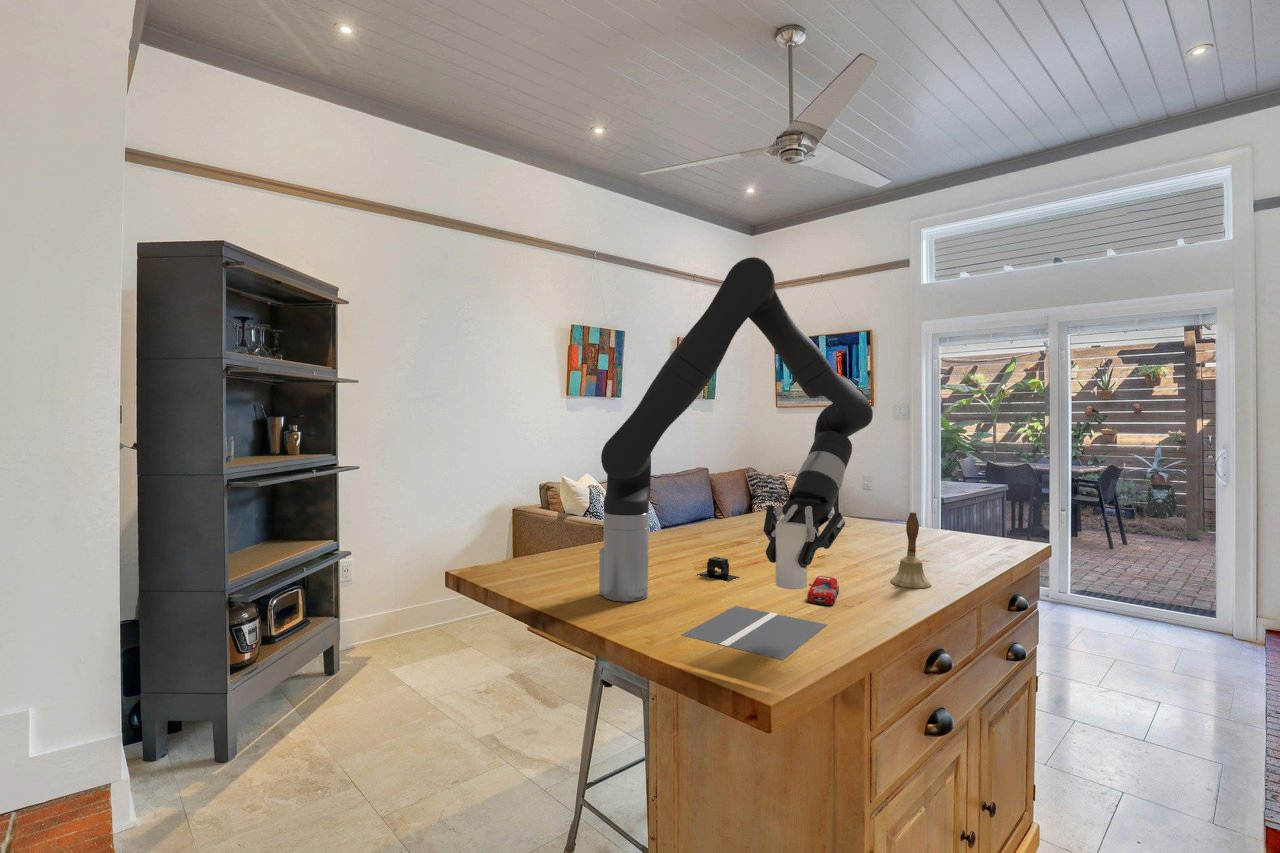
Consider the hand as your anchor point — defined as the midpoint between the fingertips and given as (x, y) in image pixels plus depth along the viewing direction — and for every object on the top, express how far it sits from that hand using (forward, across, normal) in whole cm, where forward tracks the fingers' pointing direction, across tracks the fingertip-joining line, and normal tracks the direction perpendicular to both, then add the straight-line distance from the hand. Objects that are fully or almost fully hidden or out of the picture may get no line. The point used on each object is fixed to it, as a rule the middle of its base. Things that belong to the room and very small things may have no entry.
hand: (786, 562), depth 102 cm
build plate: (-11, -32, +30) cm, 46 cm away
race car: (-11, -7, +30) cm, 33 cm away
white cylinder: (+2, 0, +4) cm, 5 cm away
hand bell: (-27, +3, +47) cm, 54 cm away
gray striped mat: (+8, -6, +10) cm, 15 cm away
